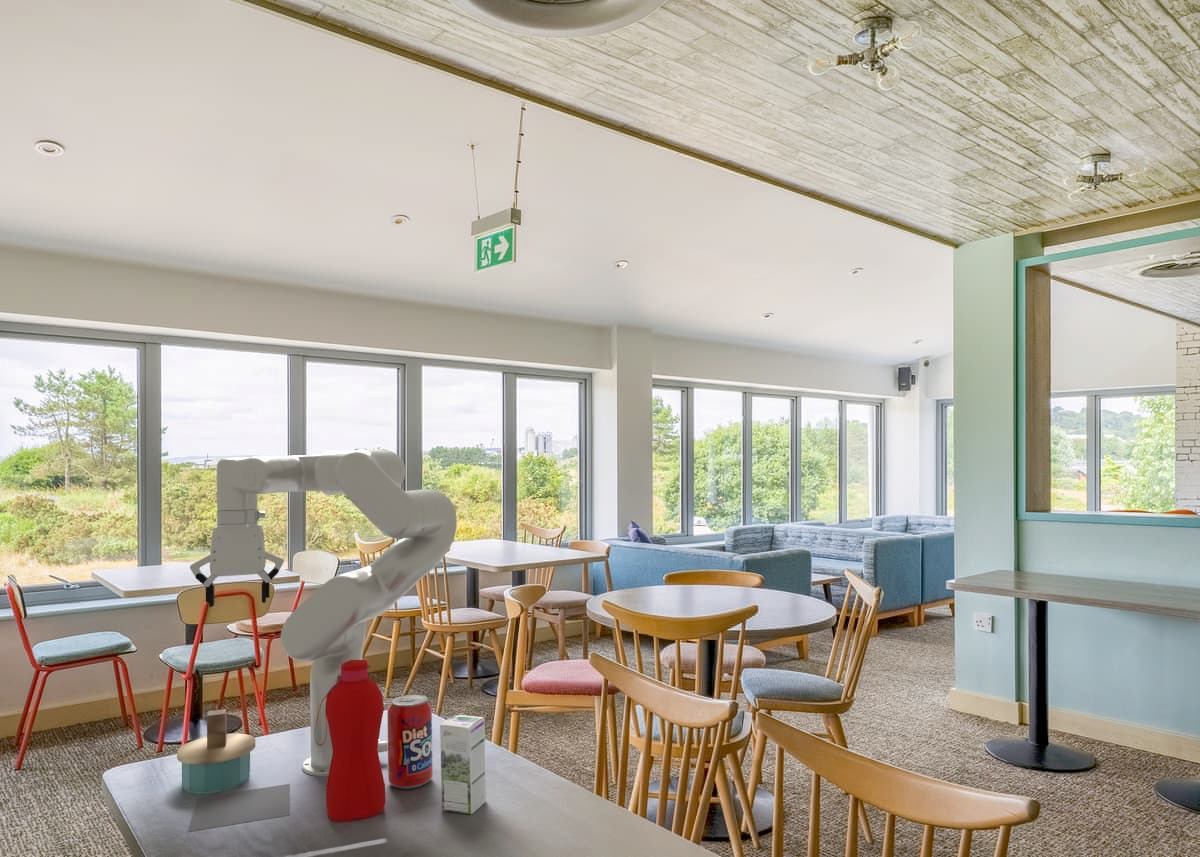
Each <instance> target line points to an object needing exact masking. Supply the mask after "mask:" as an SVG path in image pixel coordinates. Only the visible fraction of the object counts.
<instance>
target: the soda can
mask: <svg viewBox="0 0 1200 857" xmlns="http://www.w3.org/2000/svg"><path fill="white" fill-rule="evenodd" d="M428 699H429V697H427V696H426V695H423V694H406V695H401V696H397V697H395V698H393V699H391V701H390V702H391V704H390V706H389V707H388V709H387V713H386V714H387V719H386V720H387V722H386V723H387V745H388V751H387V779H388V783H389V784H390V785H391V786H393V787H395V788H397V789H401V790H412V789H417V788H420V787H423V786H424V785H425V784H427V783H428V782H430V780H432V778H433V775H434V774H433V773H434V770H433V768H434V767H433V711H432V709H433V708H432V704H430V702H429V701H428Z"/></svg>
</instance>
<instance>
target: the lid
mask: <svg viewBox="0 0 1200 857" xmlns="http://www.w3.org/2000/svg"><path fill="white" fill-rule="evenodd" d="M255 748H256V738H255V737H254V736H253V735H250V734H247V733H246V734H245V733H238V732H237V733H227V708H225V709H215V710H208V711H207V713H206V736H205V737H200V738H198V739H193V740H192V741H189V742H186V743H184V744H183V745H181V746H180V747H179V748H178V749H177V751H176V758H177V761H178V762H180V763H181V764H182V763H186V764H212V763H218V762H224V761H228V760H232V759H235V758H238V757H241V756H243V755H245V754H247V753H249V752H250V753H251V752H252V751H253V750H254V749H255Z"/></svg>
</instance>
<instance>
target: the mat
mask: <svg viewBox="0 0 1200 857" xmlns="http://www.w3.org/2000/svg"><path fill="white" fill-rule="evenodd" d="M290 790H291V785H290V783H286V784H279V785H273V786H266V787H259V788H253V789H248V790H241V791H233V792H228V793H221V794H214V795H213V794H212V795H208V796H207V795H206V796H199V797H197V799H196V802H195V806H194V810H193V813H192V816H191V820H190V822H189V826H188V829H187V832H188V833H191V832H198V831H204V830H208V829H214V828H215V829H216V828H222V827H229V826H233V825H240V824H246V823H252V822H257V821H258V822H259V821H264V820H270V819H276V818H282V817H288V816H290V807H291V806H290V803H291V802H290V800H291V798H290V797H291V796H290V795H291V794H290V792H291V791H290Z"/></svg>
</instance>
